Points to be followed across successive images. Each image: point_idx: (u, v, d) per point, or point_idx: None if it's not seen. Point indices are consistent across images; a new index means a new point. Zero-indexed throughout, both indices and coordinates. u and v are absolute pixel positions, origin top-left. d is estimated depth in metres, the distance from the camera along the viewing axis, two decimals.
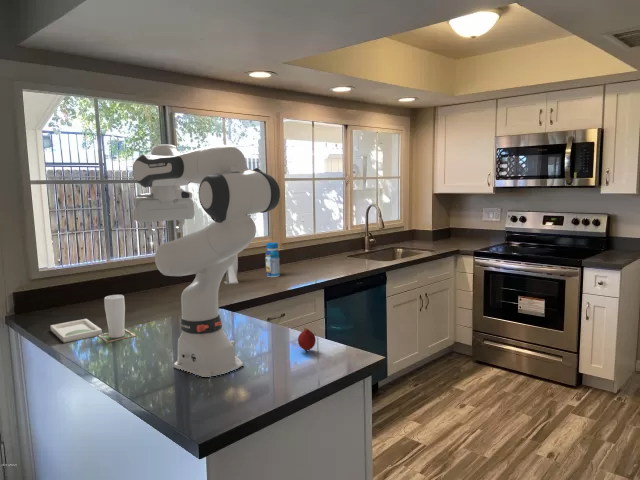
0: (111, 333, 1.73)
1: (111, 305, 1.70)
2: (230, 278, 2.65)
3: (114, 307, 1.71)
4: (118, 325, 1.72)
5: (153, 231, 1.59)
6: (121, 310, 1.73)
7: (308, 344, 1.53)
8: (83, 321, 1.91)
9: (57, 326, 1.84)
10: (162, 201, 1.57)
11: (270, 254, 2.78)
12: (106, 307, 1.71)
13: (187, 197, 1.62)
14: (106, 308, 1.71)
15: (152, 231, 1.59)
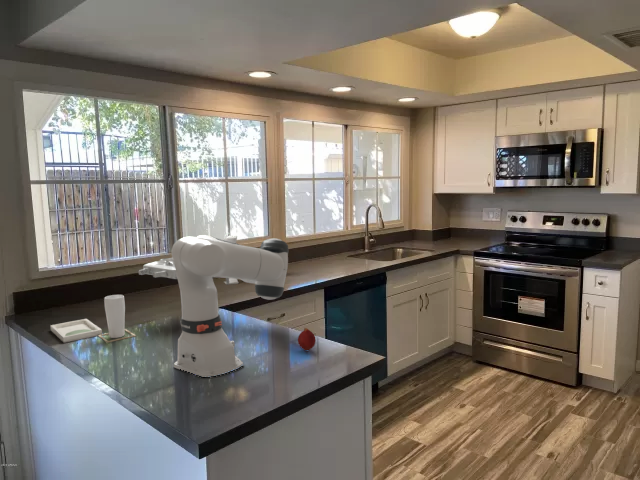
0: (111, 333, 1.73)
1: (111, 305, 1.70)
2: (230, 278, 2.65)
3: (114, 307, 1.71)
4: (118, 325, 1.72)
5: None
6: (121, 310, 1.73)
7: (308, 344, 1.53)
8: (83, 321, 1.91)
9: (57, 326, 1.84)
10: None
11: None
12: (106, 307, 1.71)
13: None
14: (106, 308, 1.71)
15: None
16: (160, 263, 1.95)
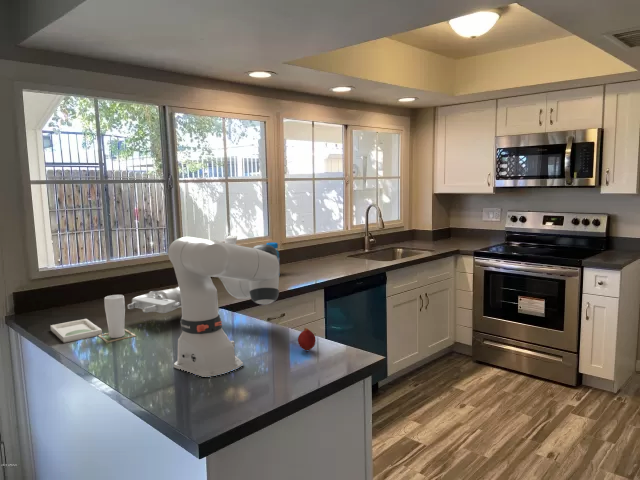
0: (111, 333, 1.73)
1: (111, 305, 1.70)
2: None
3: (114, 307, 1.71)
4: (118, 325, 1.72)
5: None
6: (121, 310, 1.73)
7: (308, 344, 1.53)
8: (83, 321, 1.91)
9: (57, 326, 1.84)
10: None
11: None
12: (106, 307, 1.71)
13: None
14: (106, 308, 1.71)
15: None
16: (149, 296, 1.93)
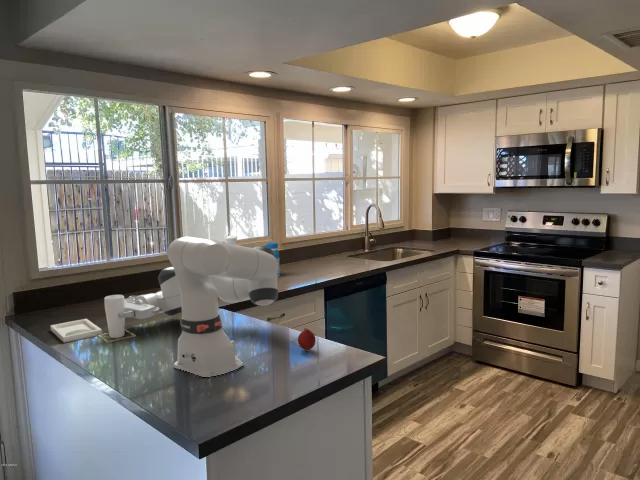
0: (111, 333, 1.73)
1: (111, 305, 1.70)
2: None
3: (114, 307, 1.71)
4: (118, 325, 1.72)
5: None
6: (121, 310, 1.73)
7: (308, 344, 1.53)
8: (83, 321, 1.91)
9: (57, 326, 1.84)
10: None
11: None
12: (106, 307, 1.71)
13: None
14: (106, 308, 1.71)
15: None
16: (128, 301, 1.85)
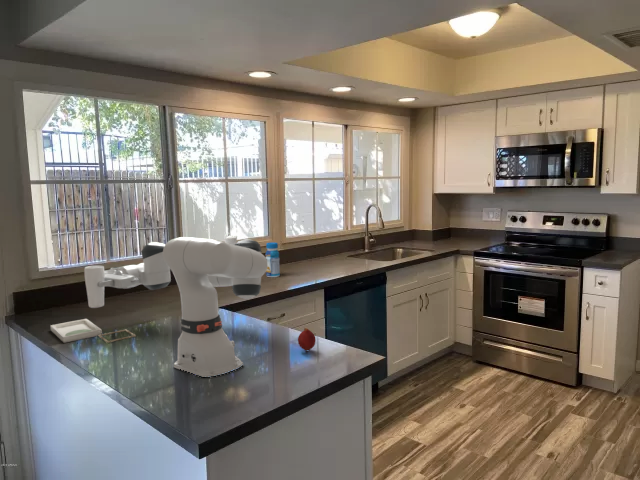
0: (90, 302, 1.74)
1: (90, 274, 1.73)
2: None
3: (93, 276, 1.73)
4: (97, 295, 1.74)
5: None
6: (101, 280, 1.75)
7: (308, 344, 1.53)
8: (83, 321, 1.91)
9: (57, 326, 1.84)
10: None
11: (270, 254, 2.78)
12: (86, 276, 1.73)
13: None
14: (86, 277, 1.73)
15: None
16: (110, 272, 1.87)
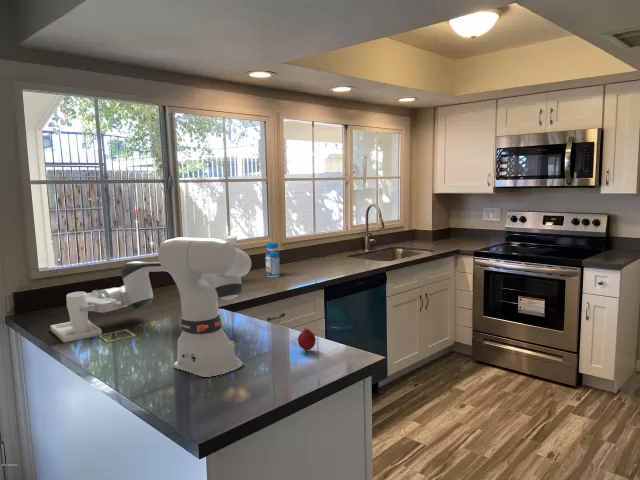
0: (74, 329, 1.75)
1: (73, 303, 1.72)
2: None
3: (76, 304, 1.73)
4: (81, 322, 1.75)
5: None
6: None
7: (308, 344, 1.53)
8: None
9: (57, 326, 1.84)
10: None
11: (270, 254, 2.78)
12: (68, 304, 1.73)
13: None
14: (68, 305, 1.73)
15: None
16: (92, 295, 1.87)
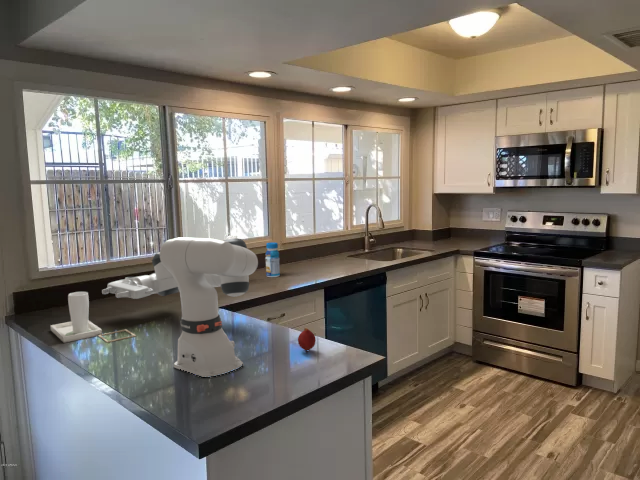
0: (74, 329, 1.75)
1: (74, 302, 1.73)
2: None
3: (77, 304, 1.73)
4: (81, 322, 1.75)
5: None
6: (84, 307, 1.75)
7: (308, 344, 1.53)
8: None
9: (57, 326, 1.84)
10: None
11: (270, 254, 2.78)
12: (69, 304, 1.74)
13: None
14: (69, 305, 1.74)
15: None
16: (124, 282, 1.99)
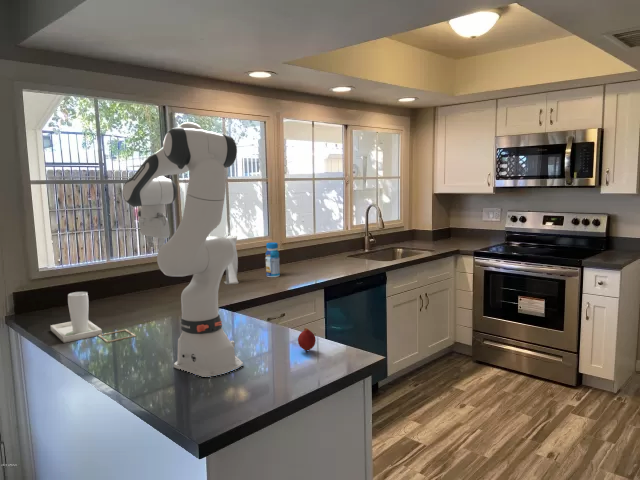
0: (74, 329, 1.75)
1: (74, 302, 1.73)
2: (230, 278, 2.65)
3: (77, 304, 1.74)
4: (81, 322, 1.75)
5: None
6: (84, 307, 1.75)
7: (308, 344, 1.53)
8: None
9: (57, 326, 1.84)
10: None
11: (270, 254, 2.78)
12: (69, 304, 1.74)
13: None
14: (69, 305, 1.74)
15: None
16: (143, 221, 1.85)
